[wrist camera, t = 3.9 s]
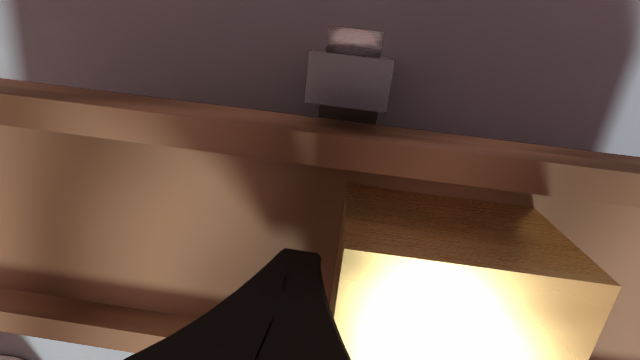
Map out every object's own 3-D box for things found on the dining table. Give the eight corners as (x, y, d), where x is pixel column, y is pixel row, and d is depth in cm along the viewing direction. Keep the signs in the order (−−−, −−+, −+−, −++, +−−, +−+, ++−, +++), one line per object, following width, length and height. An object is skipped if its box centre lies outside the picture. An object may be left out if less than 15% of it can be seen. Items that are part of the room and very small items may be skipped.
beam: (730, 168, 10) (814, 195, 8) (624, 380, 13) (670, 437, 11) (-21, 75, 11) (-97, 81, 9) (20, 288, 14) (-33, 326, 12)
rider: (534, 207, 10) (621, 286, 7) (489, 344, 12) (542, 461, 8) (346, 183, 10) (344, 248, 7) (327, 320, 12) (317, 426, 9)
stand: (387, 37, 13) (399, 32, 8) (342, 325, 17) (334, 427, 13) (330, 31, 13) (311, 23, 9) (299, 317, 18) (275, 417, 13)
